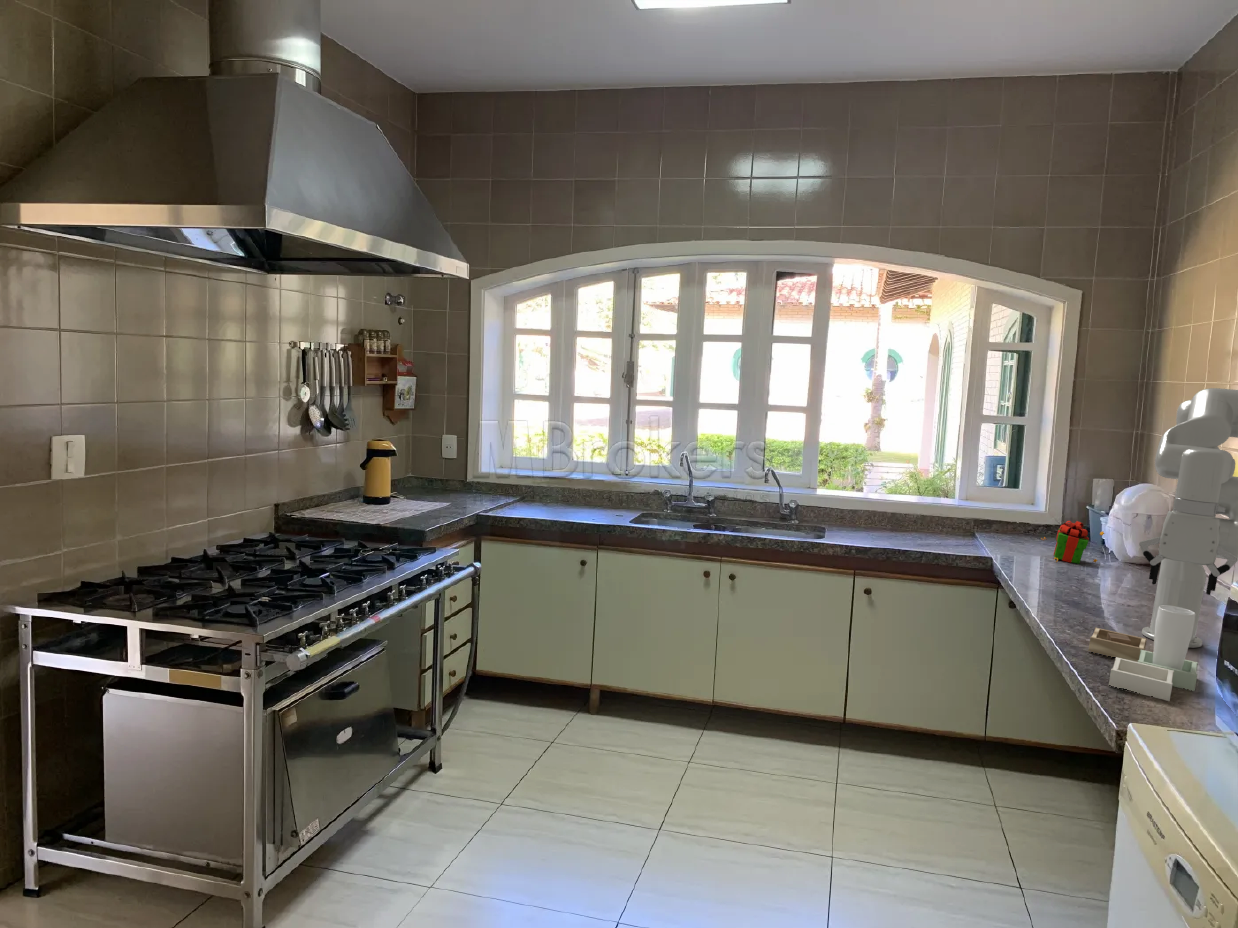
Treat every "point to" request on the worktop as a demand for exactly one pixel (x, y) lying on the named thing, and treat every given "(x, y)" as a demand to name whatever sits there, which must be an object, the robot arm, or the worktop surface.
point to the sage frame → (1175, 671)
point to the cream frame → (1142, 678)
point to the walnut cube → (1118, 638)
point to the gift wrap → (1071, 542)
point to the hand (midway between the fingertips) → (1180, 588)
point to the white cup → (1172, 636)
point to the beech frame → (1116, 645)
